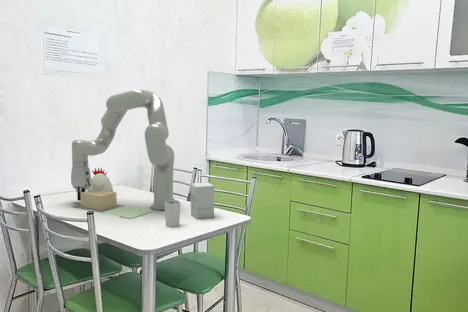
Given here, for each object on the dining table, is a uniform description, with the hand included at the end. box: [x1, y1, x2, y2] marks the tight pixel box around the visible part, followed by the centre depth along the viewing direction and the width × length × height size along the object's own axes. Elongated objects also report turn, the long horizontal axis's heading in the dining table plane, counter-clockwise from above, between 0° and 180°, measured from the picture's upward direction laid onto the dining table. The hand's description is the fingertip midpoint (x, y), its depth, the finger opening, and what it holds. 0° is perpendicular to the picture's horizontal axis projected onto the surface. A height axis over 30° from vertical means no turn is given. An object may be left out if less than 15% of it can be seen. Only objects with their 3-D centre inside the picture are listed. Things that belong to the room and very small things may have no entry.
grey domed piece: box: [87, 167, 114, 192], centre depth 234 cm, size 14×14×15 cm
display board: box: [70, 203, 154, 220], centre depth 199 cm, size 39×16×1 cm, turn 62°
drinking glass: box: [164, 199, 181, 227], centre depth 175 cm, size 7×7×10 cm
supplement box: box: [190, 182, 215, 220], centre depth 190 cm, size 9×9×15 cm
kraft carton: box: [80, 189, 118, 210], centre depth 202 cm, size 14×10×7 cm
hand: (81, 200), depth 208 cm, fingers closed
